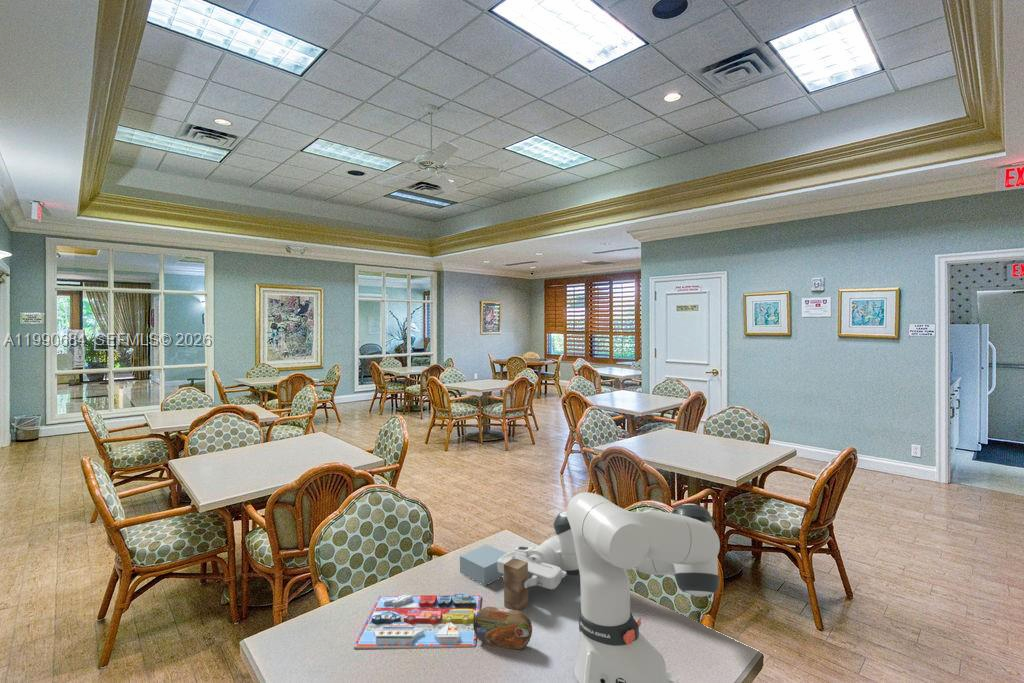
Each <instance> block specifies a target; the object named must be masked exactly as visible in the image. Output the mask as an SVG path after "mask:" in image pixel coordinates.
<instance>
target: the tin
mask: <svg viewBox="0 0 1024 683" xmlns="http://www.w3.org/2000/svg"><path fill="white" fill-rule="evenodd" d="M532 624H533V623H532V622H531V620H530V617H529V616H528V615H527V614H525V613H524V612H523V611H522V610H520V611H518V610H513V609H510V608H504V607H503V608H502V607H495V606H486V607H485V606H484V607H483V608H482V609H480V611H479V613H478V614H477V615H476V617H475V619H474V622H473V627H474V632H475V634H476V636H477V637H476V638H477V639H478V640H479V641H480V642H482V643H483V644H484V645H489V646H494V647H500V648H505V649H512V650H521V649H523V648H526V646H528V645H529V643H530V640H531V637H532V635H533V625H532Z"/></svg>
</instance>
